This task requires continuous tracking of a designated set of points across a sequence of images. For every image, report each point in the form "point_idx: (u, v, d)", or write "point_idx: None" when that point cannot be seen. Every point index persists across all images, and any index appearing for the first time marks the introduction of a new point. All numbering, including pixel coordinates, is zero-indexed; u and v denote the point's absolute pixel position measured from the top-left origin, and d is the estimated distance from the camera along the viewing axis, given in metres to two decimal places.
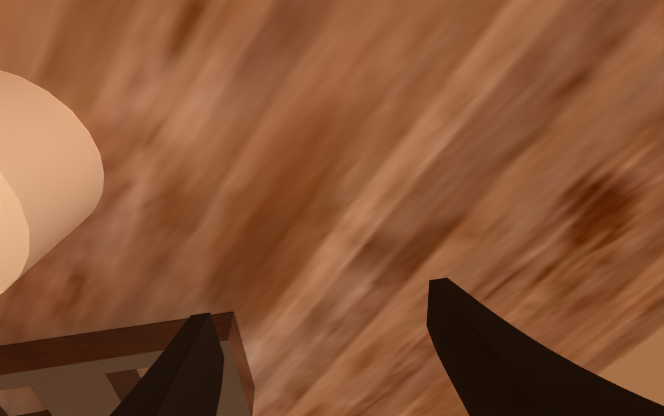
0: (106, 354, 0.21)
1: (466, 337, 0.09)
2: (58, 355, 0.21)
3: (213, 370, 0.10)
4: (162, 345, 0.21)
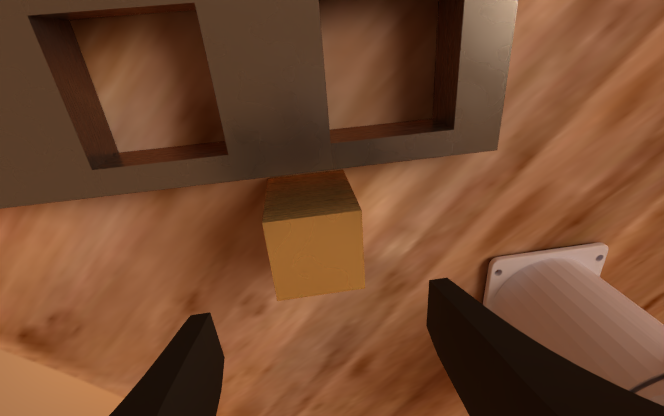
0: None
1: (466, 337, 0.09)
2: None
3: (213, 370, 0.10)
4: None
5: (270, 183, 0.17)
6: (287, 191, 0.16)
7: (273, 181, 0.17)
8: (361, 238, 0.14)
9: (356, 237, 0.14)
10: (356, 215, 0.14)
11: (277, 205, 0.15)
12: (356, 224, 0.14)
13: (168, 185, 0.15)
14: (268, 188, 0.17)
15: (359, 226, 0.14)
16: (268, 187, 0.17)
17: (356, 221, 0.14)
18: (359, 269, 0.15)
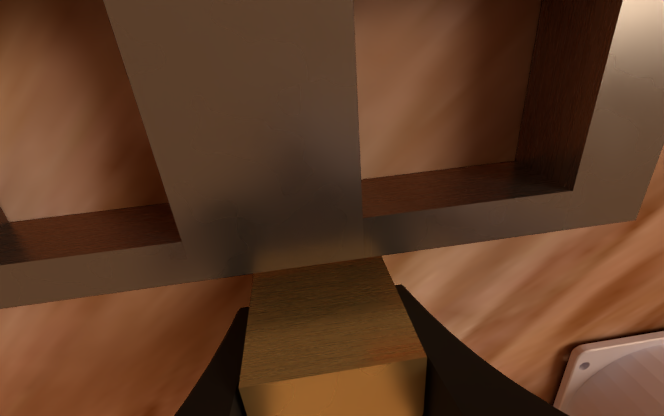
0: None
1: None
2: None
3: None
4: None
5: None
6: (287, 290, 0.10)
7: None
8: (422, 397, 0.08)
9: (413, 396, 0.08)
10: (417, 365, 0.07)
11: (269, 331, 0.08)
12: (415, 378, 0.08)
13: (77, 293, 0.08)
14: (256, 280, 0.10)
15: (420, 380, 0.08)
16: (256, 277, 0.10)
17: (416, 373, 0.07)
18: None
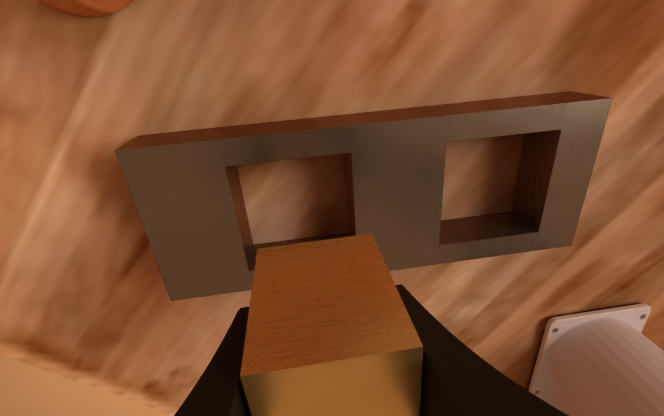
0: (451, 113, 0.15)
1: None
2: (381, 118, 0.16)
3: None
4: (521, 105, 0.16)
5: (260, 261, 0.11)
6: (287, 283, 0.10)
7: (265, 256, 0.11)
8: (418, 386, 0.08)
9: (410, 385, 0.08)
10: (413, 355, 0.08)
11: (269, 323, 0.08)
12: (412, 367, 0.08)
13: None
14: (256, 274, 0.10)
15: (417, 370, 0.08)
16: (257, 271, 0.10)
17: (412, 363, 0.08)
18: None
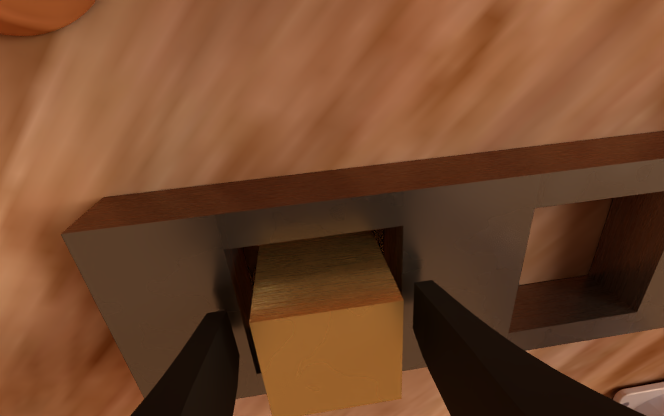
0: (543, 169, 0.11)
1: (448, 340, 0.09)
2: (443, 174, 0.11)
3: (230, 367, 0.10)
4: (638, 156, 0.11)
5: None
6: (288, 254, 0.11)
7: None
8: (400, 337, 0.09)
9: (393, 336, 0.09)
10: (395, 307, 0.09)
11: (273, 284, 0.10)
12: (394, 319, 0.09)
13: None
14: (261, 247, 0.12)
15: (398, 321, 0.09)
16: (261, 245, 0.12)
17: (394, 315, 0.09)
18: (394, 376, 0.10)
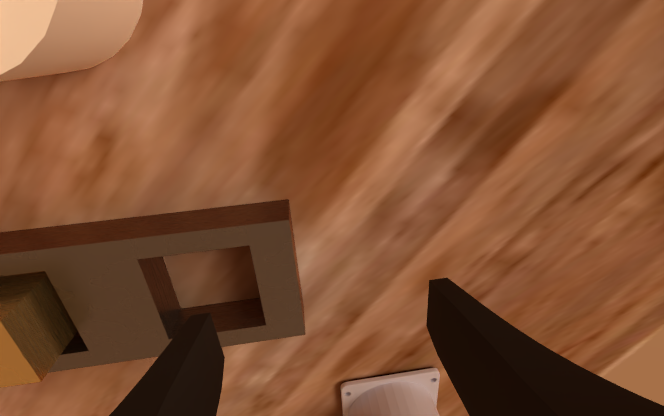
0: (139, 234, 0.17)
1: (466, 337, 0.09)
2: (79, 236, 0.17)
3: (213, 370, 0.10)
4: (207, 225, 0.17)
5: None
6: None
7: None
8: (13, 342, 0.15)
9: (7, 342, 0.15)
10: None
11: None
12: (1, 332, 0.15)
13: None
14: None
15: (5, 333, 0.15)
16: None
17: None
18: (26, 367, 0.16)
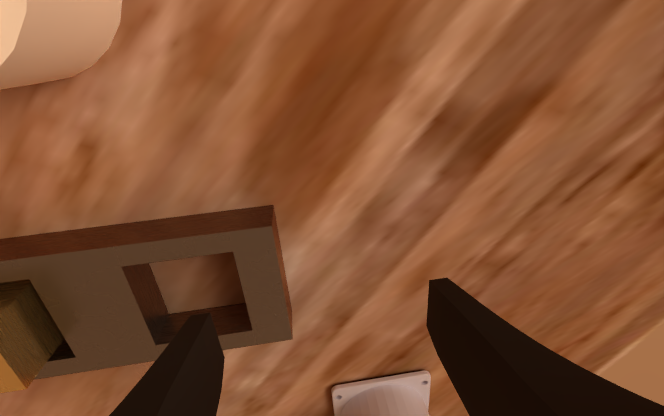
0: (122, 242, 0.17)
1: (466, 337, 0.09)
2: (63, 244, 0.17)
3: (213, 370, 0.10)
4: (191, 232, 0.17)
5: None
6: None
7: None
8: None
9: None
10: None
11: None
12: None
13: None
14: None
15: None
16: None
17: None
18: (10, 374, 0.16)
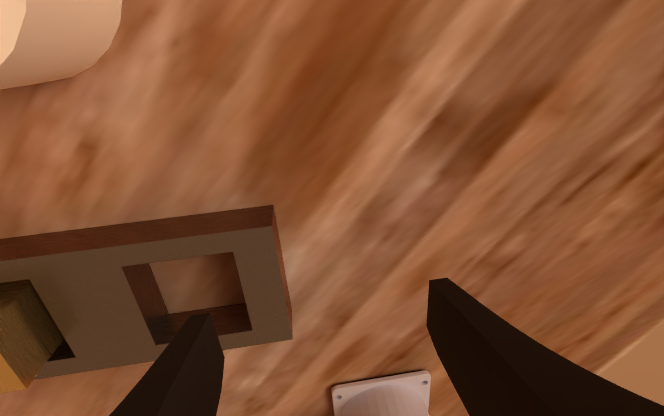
0: (122, 242, 0.17)
1: (466, 337, 0.09)
2: (63, 244, 0.17)
3: (213, 370, 0.10)
4: (191, 232, 0.17)
5: None
6: None
7: None
8: None
9: None
10: None
11: None
12: None
13: None
14: None
15: None
16: None
17: None
18: (10, 374, 0.16)
